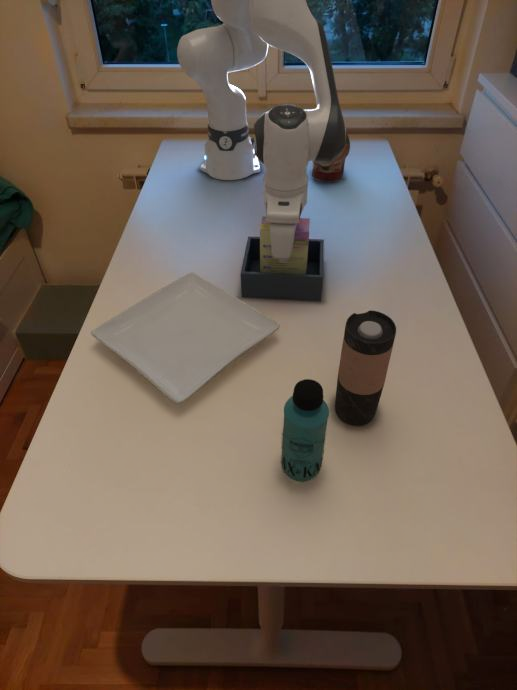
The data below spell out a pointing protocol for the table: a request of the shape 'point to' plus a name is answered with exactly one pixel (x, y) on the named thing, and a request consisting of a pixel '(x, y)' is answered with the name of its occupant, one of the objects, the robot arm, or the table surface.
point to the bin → (282, 276)
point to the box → (298, 255)
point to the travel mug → (363, 366)
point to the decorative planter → (331, 166)
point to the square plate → (185, 334)
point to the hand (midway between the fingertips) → (283, 252)
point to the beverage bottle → (304, 431)
